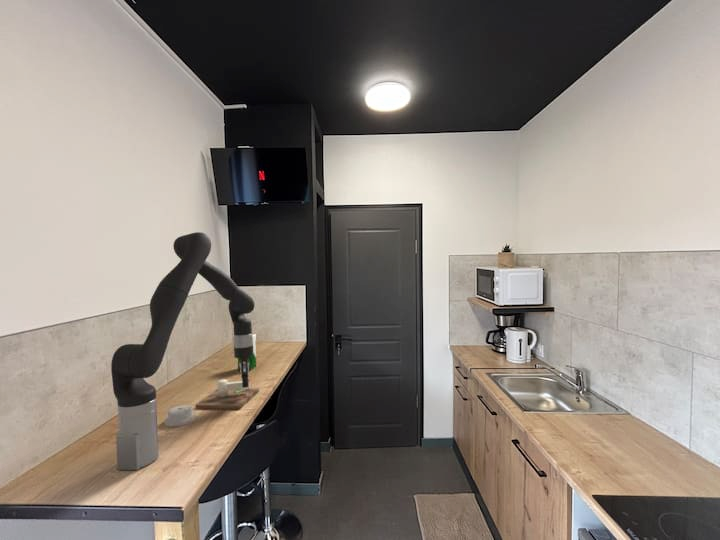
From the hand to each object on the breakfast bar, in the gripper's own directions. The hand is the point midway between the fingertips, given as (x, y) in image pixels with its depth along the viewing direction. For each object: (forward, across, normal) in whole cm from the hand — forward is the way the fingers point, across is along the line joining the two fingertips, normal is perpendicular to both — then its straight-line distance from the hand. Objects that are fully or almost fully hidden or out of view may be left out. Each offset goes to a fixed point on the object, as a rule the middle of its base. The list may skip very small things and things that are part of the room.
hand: (245, 386), depth 141 cm
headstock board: (+5, +2, +7) cm, 9 cm away
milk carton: (+5, +44, -1) cm, 44 cm away
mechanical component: (+6, -11, +23) cm, 26 cm away
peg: (+3, +3, +5) cm, 6 cm away
